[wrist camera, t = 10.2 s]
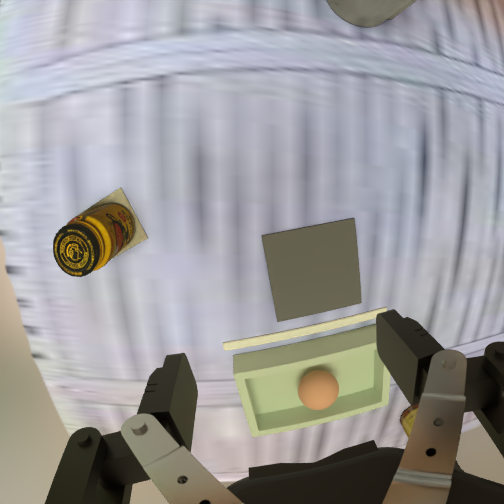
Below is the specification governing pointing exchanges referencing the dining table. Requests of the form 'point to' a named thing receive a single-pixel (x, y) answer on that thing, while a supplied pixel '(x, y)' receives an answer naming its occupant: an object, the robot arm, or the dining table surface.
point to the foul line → (302, 330)
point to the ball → (318, 390)
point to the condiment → (97, 235)
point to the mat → (313, 269)
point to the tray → (301, 363)
